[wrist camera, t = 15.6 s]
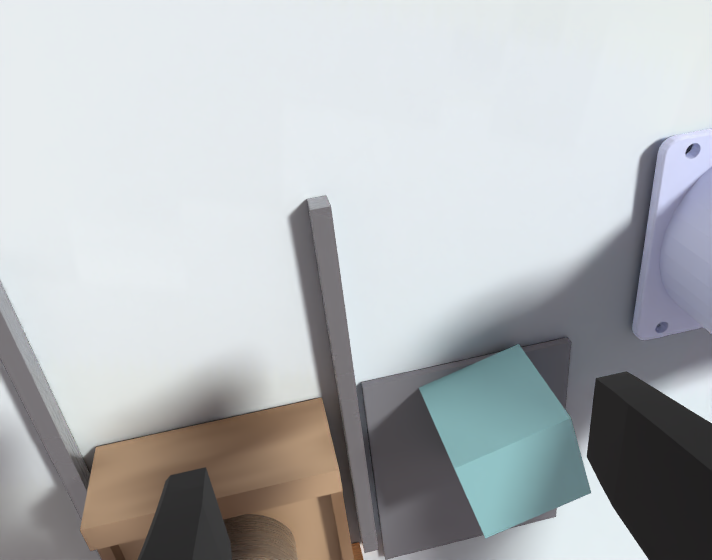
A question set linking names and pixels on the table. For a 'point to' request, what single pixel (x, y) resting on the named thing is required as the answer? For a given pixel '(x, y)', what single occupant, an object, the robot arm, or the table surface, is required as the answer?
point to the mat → (431, 455)
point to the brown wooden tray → (226, 480)
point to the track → (11, 345)
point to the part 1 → (260, 538)
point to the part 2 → (507, 439)
